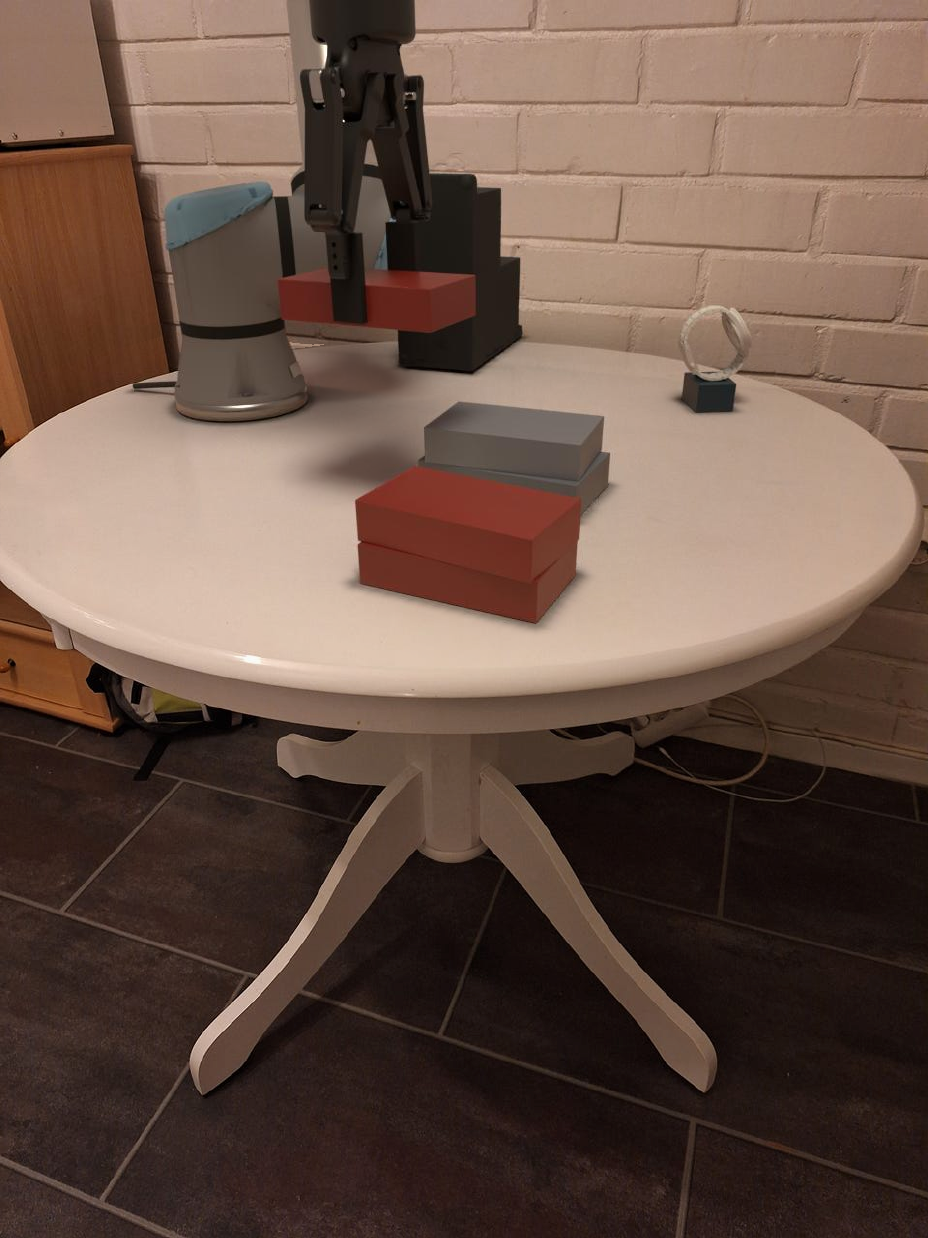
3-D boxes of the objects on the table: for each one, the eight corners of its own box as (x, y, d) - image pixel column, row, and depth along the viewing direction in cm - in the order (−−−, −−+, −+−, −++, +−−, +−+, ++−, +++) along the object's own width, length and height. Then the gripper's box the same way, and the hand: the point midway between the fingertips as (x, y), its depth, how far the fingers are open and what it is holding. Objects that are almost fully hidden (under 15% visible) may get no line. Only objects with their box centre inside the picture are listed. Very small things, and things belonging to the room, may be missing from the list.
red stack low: (359, 583, 67) (357, 544, 65) (411, 542, 73) (410, 505, 72) (536, 623, 62) (537, 581, 60) (576, 575, 68) (578, 536, 66)
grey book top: (424, 462, 80) (423, 427, 79) (458, 433, 87) (458, 401, 85) (578, 481, 76) (580, 444, 74) (602, 450, 83) (604, 415, 81)
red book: (281, 319, 75) (276, 278, 73) (334, 304, 81) (331, 266, 80) (431, 333, 69) (429, 289, 68) (476, 315, 76) (475, 274, 74)
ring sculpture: (749, 410, 104) (764, 310, 98) (680, 412, 103) (691, 312, 98) (732, 397, 108) (746, 301, 103) (666, 398, 108) (676, 302, 103)
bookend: (457, 331, 140) (455, 161, 129) (524, 336, 137) (528, 162, 126) (396, 368, 121) (388, 172, 110) (473, 374, 118) (473, 174, 107)
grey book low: (418, 493, 82) (417, 459, 81) (461, 462, 89) (461, 430, 88) (574, 521, 77) (576, 485, 75) (607, 485, 84) (610, 452, 82)
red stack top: (357, 540, 66) (354, 499, 64) (416, 503, 72) (415, 465, 70) (530, 583, 60) (532, 539, 58) (579, 539, 66) (581, 498, 64)
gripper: (322, -49, 54) (349, 340, 65) (472, -10, 71) (474, 296, 82) (223, -39, 57) (264, 332, 68) (389, -3, 74) (401, 291, 85)
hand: (378, 312), depth 75 cm, fingers closed on red book, 8 cm apart
